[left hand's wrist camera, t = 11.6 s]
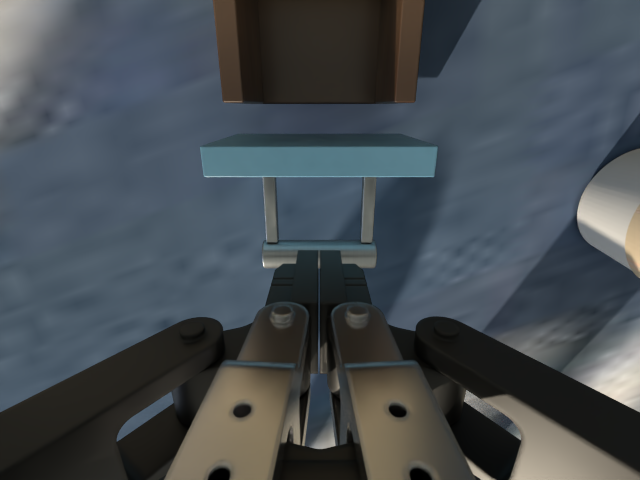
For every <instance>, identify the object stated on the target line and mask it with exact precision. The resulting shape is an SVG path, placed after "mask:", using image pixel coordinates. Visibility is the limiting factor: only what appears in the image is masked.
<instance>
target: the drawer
mask: <svg viewBox="0 0 640 480" xmlns="http://www.w3.org/2000/svg"><path fill="white" fill-rule="evenodd" d="M213 5H214V15H215V26H216V36H217V46H218V56H219V67H220V77H221V87H222V97H223V102H225V103H244V104H394V103H414V102H415V100H416V90H417V79H418V69H419V58H420V48H421V37H422V27H423V16H424V6H425V0H213ZM200 150H201V158H202V166H203V173H204V177H262V180H263V196H264V212H265V228H266V240H264V242H263V246H262V263H263V267H264V268H278V267H279V266H281V265H282V264H296V260H297V253H298V250H318V268H320V250H340V252H341V259H342V264H356V265H358V266H359V267H360V268H375V266H376V261H377V248H376V243H375V241H374V240H373V225H374V208H375V192H376V177H434V176H435V168H436V160H437V152H438V146H436V145H433V144H430V143H427V142H424V141H421V140H418V139H415V138H412V137H409V136H406V135H403V134H236V135H233V136H230V137H227V138H224V139H221V140H218V141H215V142H212V143H209V144H206V145H203V146H200ZM276 177H363V180H362V202H361V224H360V240H278V239H279V230H278V209H277V188H276Z"/></svg>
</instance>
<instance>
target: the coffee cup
mask: <svg viewBox="0 0 640 480" xmlns="http://www.w3.org/2000/svg"><path fill="white" fill-rule="evenodd" d="M577 223H578V227H579V230H580V233H581V235H582V236H583V238H584V239H585V240H586V241H587V242H588V243H589V244H590V245H592V246H593V247H595V248H597V249H598V250H600V251H601V252H603V253H605V254H606V255H608V256H609V257H611V258H613V259H614V260H616V261H617V262H619V263H621V264H622V265H624V266H625V267H627V268H629V269H630V270H632V271H633V272H634V274H635V275H636V276H637V277H639V278H640V149H636V150H633V151H630V152H627V153H625V154H623V155H621V156H619V157H617V158H616V159H614V160H613V161H611V162H610V163H608V164H607V165H606V166H605V167H603V168H602V169H601V170H600V171H599V172H598V173H597V174H596V175H595V176H594V178H593V179H592V180H591V181H590V183H589V184H588V186H587V187H586V189H585V191H584V193H583V195H582V197H581V199H580V202H579V206H578V211H577Z"/></svg>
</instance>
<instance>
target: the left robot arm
mask: <svg viewBox="0 0 640 480" xmlns="http://www.w3.org/2000/svg"><path fill="white" fill-rule="evenodd" d="M310 374H318V250H298V253H297V260H296V264H282V265H281V266H279V267H278V268H277V269H276V270H275V272H274V276H273V280H272V283H271V287H270V291H269V294H268V298H267V301H266V305H265V307H263V308H262V309H260V310H259V311H258V313H257V314H256V317H255V319H254V321H253V323H251V324H249V325H246V326H243V327H240V328H236V329H231V330H226V331H223V327H222V325H221V323H220V322H219V321H217V320H215V319H212V318H207V317H197V318H191V319H187V320H184V321H181V322H179V323H177V324H175V325H173V326H171V327H169V328H167V329H165V330H163V331H161V332H159V333H157V334H155V335H153V336H151V337H149V338H147V339H145V340H143V341H141V342H139V343H137V344H135V345H133V346H131V347H129V348H127V349H125V350H123V351H121V352H119V353H117V354H115V355H113V356H111V357H109V358H107V359H105V360H103V361H101V362H99V363H97V364H95V365H93V366H91V367H90V368H88V369H86V370H84V371H82V372H80V373H78V374H76V375H74V376H72V377H70V378H68V379H66V380H64V381H62V382H60V383H58V384H56V385H54V386H52V387H50V388H48V389H46V390H44V391H42V392H40V393H38V394H36V395H34V396H32V397H30V398H28V399H26V400H24V401H22V402H20V403H18V404H16V405H14V406H12V407H10V408H8V409H6V410H4V411H2V412H0V480H640V412H638V411H636V410H634V409H632V408H630V407H628V406H626V405H624V404H622V403H620V402H618V401H616V400H614V399H612V398H610V397H608V396H606V395H604V394H602V393H600V392H598V391H596V390H594V389H592V388H590V387H588V386H586V385H584V384H582V383H580V382H578V381H576V380H574V379H572V378H570V377H568V376H566V375H564V374H562V373H560V372H558V371H556V370H554V369H552V368H550V367H548V366H547V365H545V364H543V363H541V362H539V361H537V360H535V359H533V358H531V357H529V356H527V355H525V354H523V353H521V352H519V351H517V350H515V349H513V348H511V347H509V346H507V345H505V344H503V343H501V342H499V341H497V340H495V339H493V338H491V337H489V336H487V335H485V334H483V333H481V332H479V331H477V330H475V329H473V328H471V327H469V326H467V325H465V324H463V323H461V322H459V321H457V320H454V319H451V318H446V317H428V318H424V319H422V320H421V321H419V322H418V323H417V325H416V331H411V330H406V329H401V328H397V327H394V326H391V325H389V324H388V323H387V321H386V319H385V317H384V314H383V313H382V311H381V310H380V309H378V308H377V307H375V306H373V305H372V302H371V298H370V295H369V291H368V287H367V283H366V280H365V276H364V272H363V270H362V269H361V268H360V267H359V266H358V265H356V264H342V259H341V252H340V250H320V374H327V382H328V387H329V389H330V404H331V412H332V420H333V428H334V436H335V444H336V446H334V447H330V448H326V449H314V448H310V447H306V446H304V444H305V436H306V428H307V420H308V412H309V404H310ZM466 390H468V391H469V392H471V393H472V394H474V395H475V396H477V397H478V398H480V399H482V400H483V401H485V402H486V403H488V404H489V405H491V406H492V407H494V408H495V409H497V410H498V411H500V412H501V413H503V414H504V415H506V416H507V417H509V418H510V419H511V420H512V421H513V422H514V423H515V425H516V426H517V428H518V429H519V431H520V434H521V440H519V439H518V438H516V437H515V436H513V435H512V434H511V433H509V432H508V431H506V430H505V429H503V428H502V427H500V426H499V425H497V424H496V423H494V422H493V421H492V420H490V419H489V418H487V417H486V416H484V415H483V414H481V413H480V412H478V411H477V410H476V409H474V408H473V407H471V406H470V405H468V404H467V403H465V402H464V398H465V393H466ZM171 391H172V396H173V401H174V403H173V404H172V405H170V406H169V407H167V408H166V409H164V410H163V411H162V412H160V413H159V414H157V415H156V416H154V417H153V418H151V419H150V420H148V421H147V422H145V423H144V424H143V425H141V426H140V427H138V428H137V429H135V430H134V431H132V432H131V433H129V434H128V435H127V436H125V437H124V438H122V439H121V440H119V441H118V442H116V439H117V435H118V432H119V430H120V429H121V427H122V426H123V425H124V424H125V422H126V421H127V420H129V419H130V418H131V417H133V416H134V415H136V414H137V413H139V412H140V411H142V410H143V409H145V408H146V407H148V406H149V405H151V404H152V403H154V402H155V401H157V400H158V399H160V398H162V397H163V396H165V395H166V394H168V393H169V392H171Z"/></svg>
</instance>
